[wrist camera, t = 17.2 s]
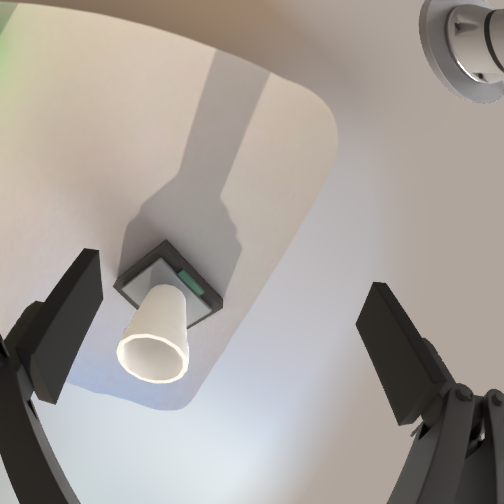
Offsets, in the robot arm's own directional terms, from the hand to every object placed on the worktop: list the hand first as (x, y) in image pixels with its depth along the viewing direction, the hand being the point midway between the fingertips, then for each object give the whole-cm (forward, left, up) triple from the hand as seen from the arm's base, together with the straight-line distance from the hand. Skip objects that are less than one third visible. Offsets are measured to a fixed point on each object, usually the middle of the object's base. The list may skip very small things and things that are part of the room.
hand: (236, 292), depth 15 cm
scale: (-11, +22, -32) cm, 40 cm away
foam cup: (-11, +22, -29) cm, 38 cm away
